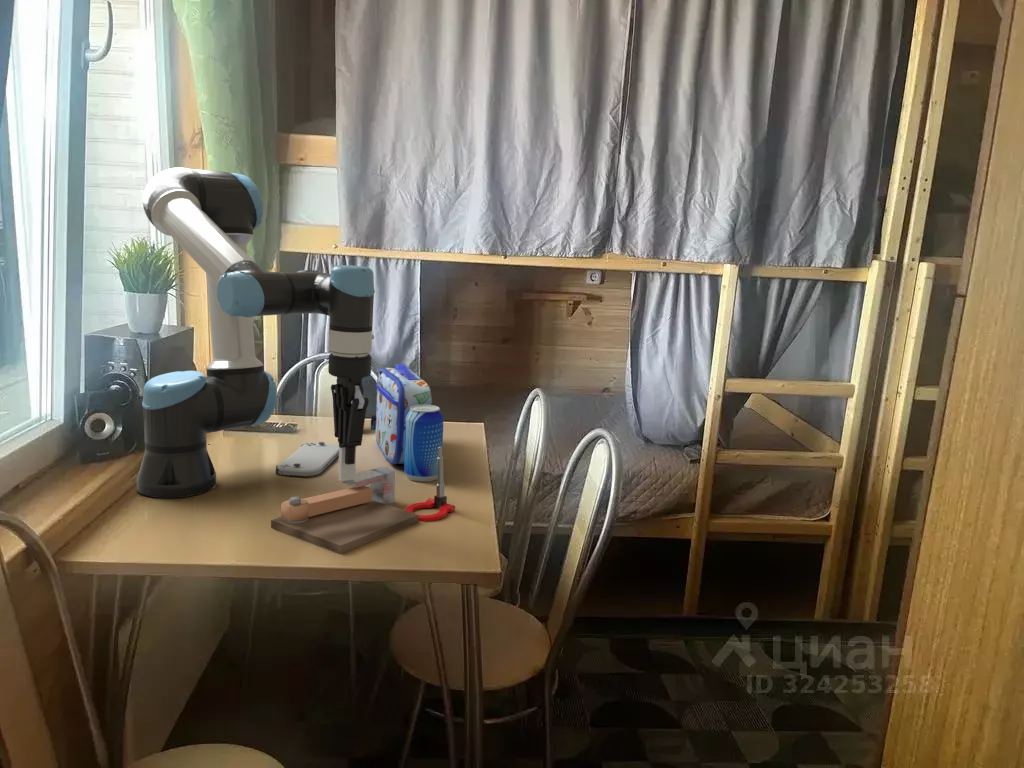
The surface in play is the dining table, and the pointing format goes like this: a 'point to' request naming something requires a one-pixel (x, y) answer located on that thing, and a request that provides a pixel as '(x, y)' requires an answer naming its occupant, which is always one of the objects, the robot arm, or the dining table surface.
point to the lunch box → (396, 408)
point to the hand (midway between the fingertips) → (346, 478)
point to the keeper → (377, 483)
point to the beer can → (422, 442)
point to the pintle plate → (348, 525)
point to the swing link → (324, 503)
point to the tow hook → (435, 497)
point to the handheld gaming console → (309, 460)
